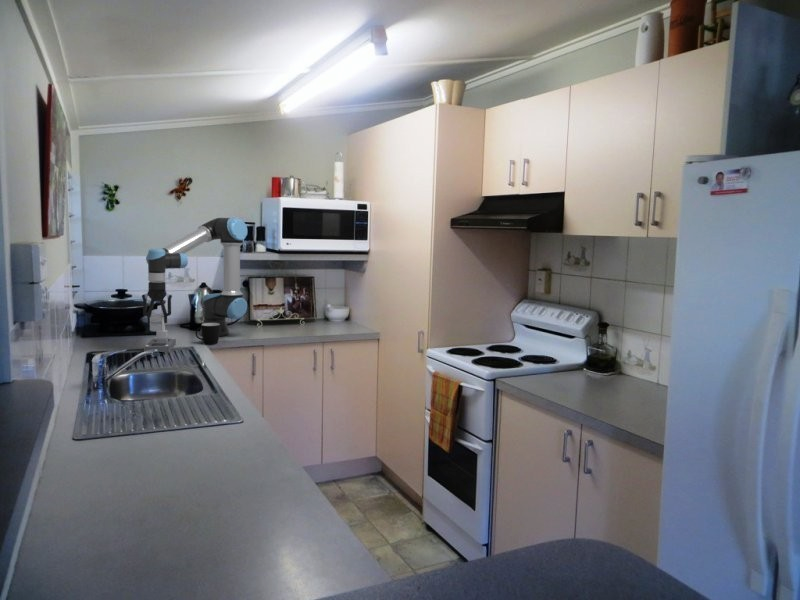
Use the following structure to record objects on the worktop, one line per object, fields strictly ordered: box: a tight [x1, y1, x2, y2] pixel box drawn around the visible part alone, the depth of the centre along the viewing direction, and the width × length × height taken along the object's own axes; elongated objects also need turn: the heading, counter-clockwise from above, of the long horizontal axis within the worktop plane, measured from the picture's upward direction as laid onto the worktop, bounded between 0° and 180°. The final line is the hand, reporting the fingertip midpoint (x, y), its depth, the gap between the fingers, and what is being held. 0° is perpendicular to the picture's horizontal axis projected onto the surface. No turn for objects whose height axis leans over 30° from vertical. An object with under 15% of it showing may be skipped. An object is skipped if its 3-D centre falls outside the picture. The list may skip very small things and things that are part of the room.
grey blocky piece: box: [143, 329, 177, 354], centre depth 290 cm, size 11×20×8 cm, turn 12°
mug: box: [195, 323, 220, 346], centre depth 304 cm, size 12×9×10 cm
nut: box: [151, 312, 164, 332], centre depth 283 cm, size 5×5×8 cm
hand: (157, 329), depth 284 cm, fingers closed on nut, 5 cm apart
